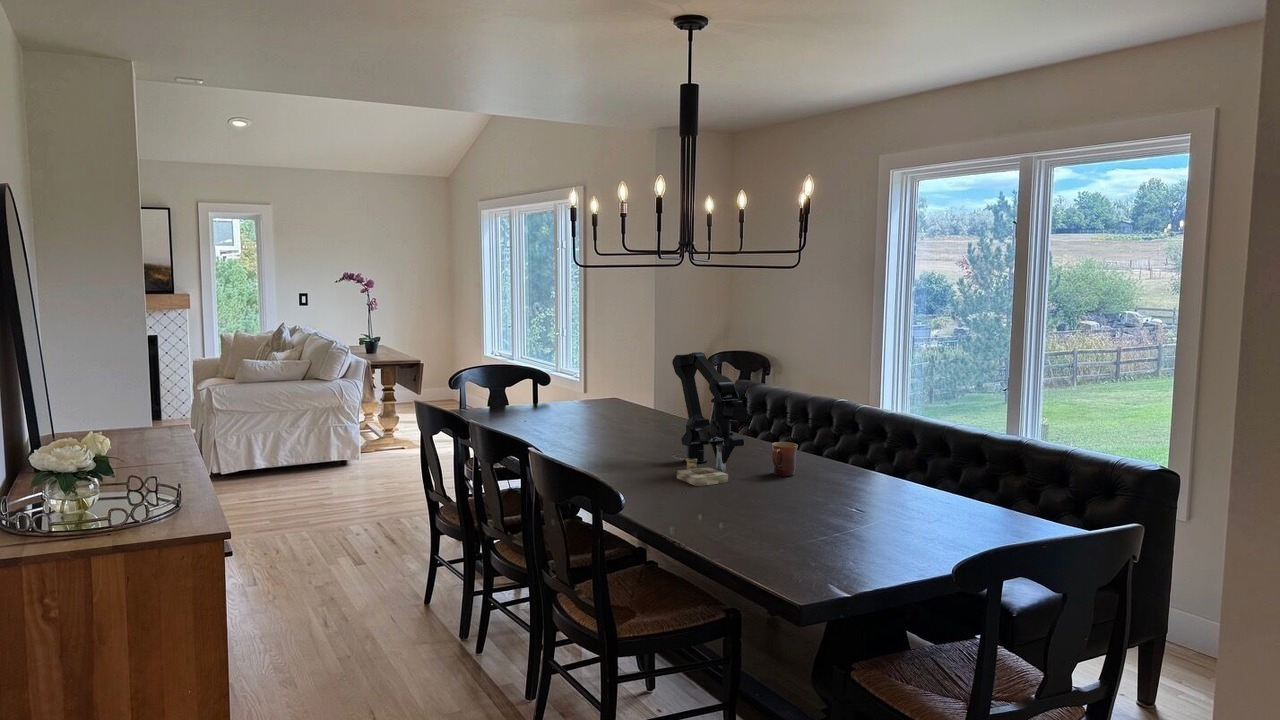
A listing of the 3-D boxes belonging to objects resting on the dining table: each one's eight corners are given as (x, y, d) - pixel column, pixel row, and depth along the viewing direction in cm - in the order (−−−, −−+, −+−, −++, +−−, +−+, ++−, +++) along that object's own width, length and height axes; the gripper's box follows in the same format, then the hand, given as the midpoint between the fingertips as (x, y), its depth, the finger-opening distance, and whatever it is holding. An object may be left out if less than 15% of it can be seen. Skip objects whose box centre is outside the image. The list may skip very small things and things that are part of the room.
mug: (778, 470, 301) (779, 441, 300) (801, 474, 296) (802, 444, 295) (761, 476, 291) (762, 446, 290) (784, 480, 286) (785, 449, 285)
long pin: (713, 470, 299) (713, 444, 298) (722, 469, 301) (722, 443, 300) (719, 472, 296) (720, 446, 295) (728, 471, 298) (729, 445, 297)
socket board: (676, 478, 287) (676, 470, 287) (707, 474, 293) (707, 466, 293) (696, 486, 277) (697, 477, 276) (727, 482, 283) (728, 474, 282)
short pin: (683, 471, 297) (683, 458, 296) (693, 470, 298) (693, 457, 298) (689, 474, 293) (690, 460, 293) (699, 472, 295) (699, 459, 295)
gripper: (687, 414, 300) (686, 459, 302) (718, 423, 284) (717, 470, 286) (714, 412, 306) (712, 456, 308) (746, 420, 290) (744, 467, 291)
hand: (721, 462), depth 298 cm, fingers closed on long pin, 3 cm apart
